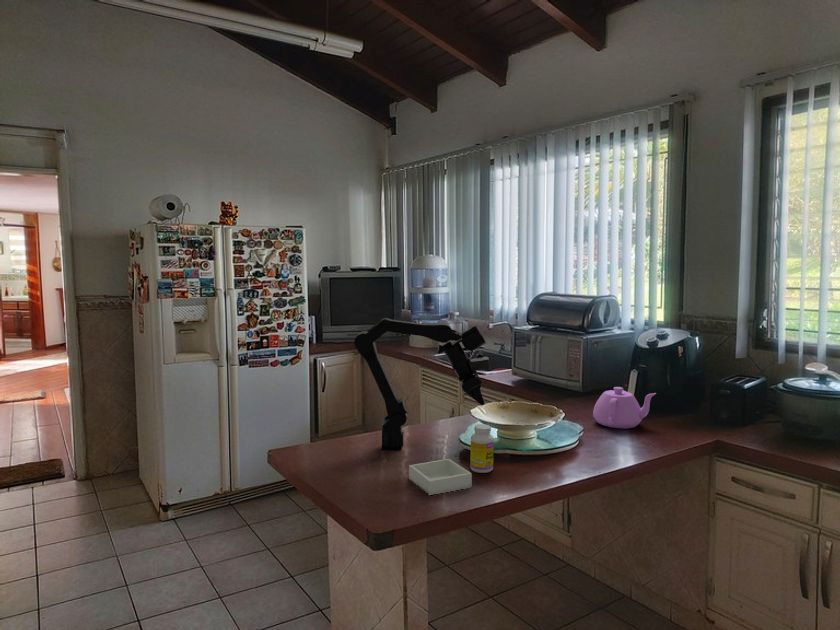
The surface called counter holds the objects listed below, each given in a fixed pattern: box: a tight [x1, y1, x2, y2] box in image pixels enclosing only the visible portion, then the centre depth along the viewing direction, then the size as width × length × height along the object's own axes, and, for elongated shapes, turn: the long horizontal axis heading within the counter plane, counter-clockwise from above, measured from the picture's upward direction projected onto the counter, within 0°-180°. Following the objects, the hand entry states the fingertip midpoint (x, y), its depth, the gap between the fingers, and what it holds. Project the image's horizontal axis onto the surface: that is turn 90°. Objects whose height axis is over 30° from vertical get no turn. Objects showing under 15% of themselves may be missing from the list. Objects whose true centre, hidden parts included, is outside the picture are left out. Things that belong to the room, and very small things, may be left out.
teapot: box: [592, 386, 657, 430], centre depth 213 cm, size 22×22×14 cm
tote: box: [408, 458, 473, 496], centre depth 159 cm, size 13×13×4 cm
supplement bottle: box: [469, 423, 495, 474], centre depth 169 cm, size 7×7×13 cm
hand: (481, 400), depth 187 cm, fingers open, 9 cm apart
